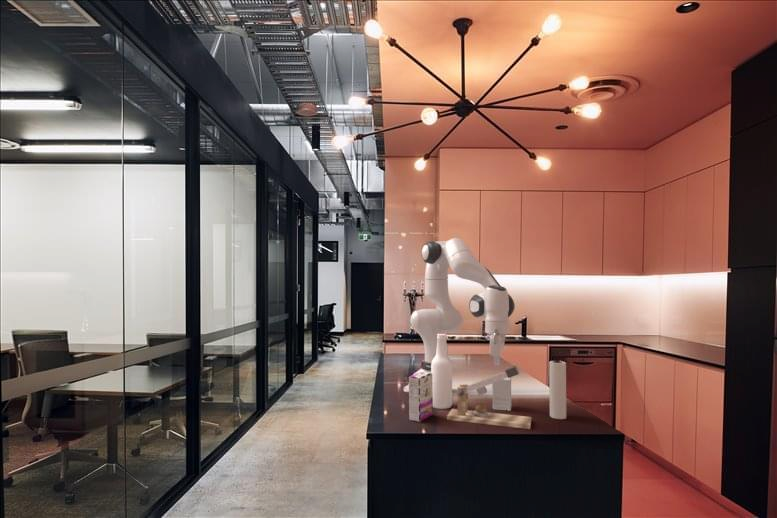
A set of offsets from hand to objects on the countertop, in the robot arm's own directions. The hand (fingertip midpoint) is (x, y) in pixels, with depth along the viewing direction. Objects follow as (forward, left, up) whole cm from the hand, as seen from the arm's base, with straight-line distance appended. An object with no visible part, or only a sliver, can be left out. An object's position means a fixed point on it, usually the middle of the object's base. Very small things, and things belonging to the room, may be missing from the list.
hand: (497, 365), depth 170 cm
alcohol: (-24, +12, -21) cm, 34 cm away
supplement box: (0, +19, -21) cm, 28 cm away
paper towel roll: (+22, +14, -21) cm, 33 cm away
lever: (-2, 0, -9) cm, 10 cm away
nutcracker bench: (-3, 0, -21) cm, 21 cm away
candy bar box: (-28, -6, -21) cm, 35 cm away
